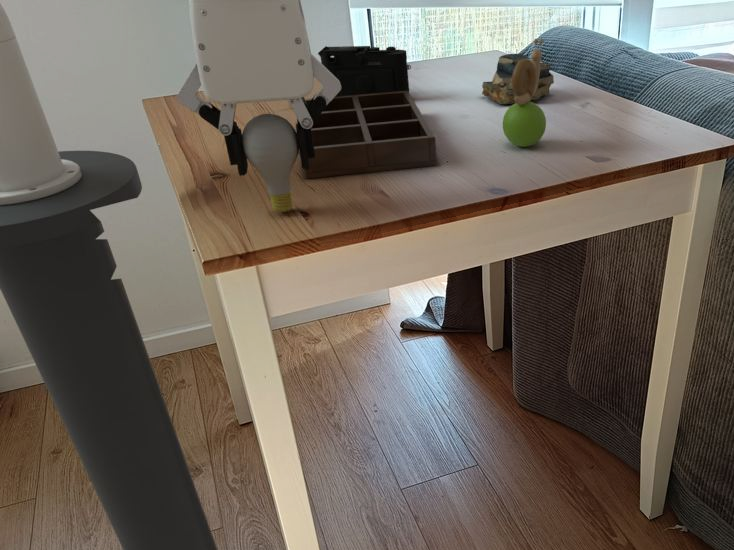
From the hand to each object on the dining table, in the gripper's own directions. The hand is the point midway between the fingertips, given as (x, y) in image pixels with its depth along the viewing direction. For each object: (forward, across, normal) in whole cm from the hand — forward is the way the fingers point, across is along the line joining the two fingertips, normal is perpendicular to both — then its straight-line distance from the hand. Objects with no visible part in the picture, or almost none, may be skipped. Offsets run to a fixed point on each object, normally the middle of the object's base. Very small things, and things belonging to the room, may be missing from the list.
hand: (274, 166), depth 69 cm
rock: (+5, -35, -36) cm, 51 cm away
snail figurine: (+5, -30, -14) cm, 34 cm away
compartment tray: (+5, -10, -21) cm, 24 cm away
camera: (+5, -13, -44) cm, 46 cm away
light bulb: (+5, 0, 0) cm, 5 cm away
